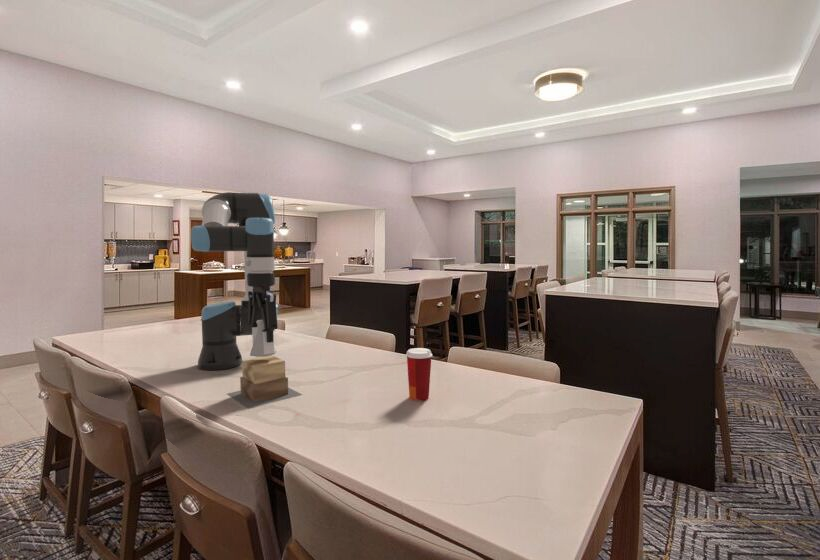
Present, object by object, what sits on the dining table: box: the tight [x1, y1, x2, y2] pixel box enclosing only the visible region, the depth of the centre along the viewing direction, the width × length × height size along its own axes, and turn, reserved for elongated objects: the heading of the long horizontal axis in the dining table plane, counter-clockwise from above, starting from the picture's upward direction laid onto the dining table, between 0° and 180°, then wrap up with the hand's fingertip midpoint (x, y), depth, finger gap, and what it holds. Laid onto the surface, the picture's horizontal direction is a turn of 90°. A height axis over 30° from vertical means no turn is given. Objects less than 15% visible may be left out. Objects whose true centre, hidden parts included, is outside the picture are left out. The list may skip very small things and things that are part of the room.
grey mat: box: [226, 386, 303, 409], centre depth 127 cm, size 16×16×1 cm
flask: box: [249, 320, 277, 358], centre depth 126 cm, size 7×7×10 cm
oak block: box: [241, 355, 286, 384], centre depth 126 cm, size 9×9×5 cm
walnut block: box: [240, 376, 289, 403], centre depth 127 cm, size 10×10×5 cm
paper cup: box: [405, 347, 433, 402], centre depth 126 cm, size 8×8×14 cm
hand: (263, 350), depth 126 cm, fingers closed on flask, 7 cm apart
